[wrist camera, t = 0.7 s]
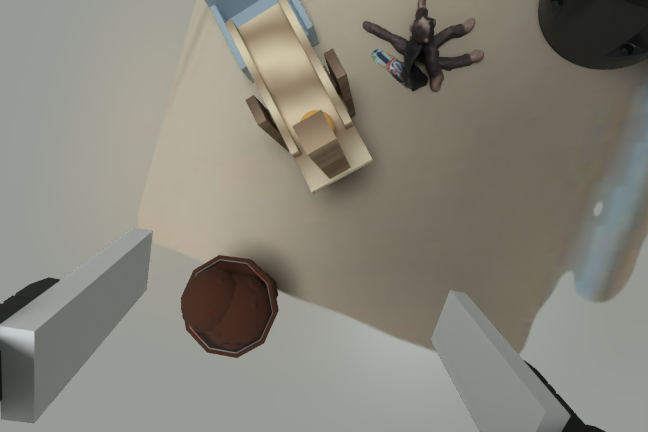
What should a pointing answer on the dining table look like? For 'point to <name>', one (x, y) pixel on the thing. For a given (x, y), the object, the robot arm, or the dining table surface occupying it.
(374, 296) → the dining table surface
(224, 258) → the ice cream bowl
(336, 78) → the stand
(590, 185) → the dining table surface
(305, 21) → the bin
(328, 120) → the ball
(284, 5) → the lever
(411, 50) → the stuffed animal
